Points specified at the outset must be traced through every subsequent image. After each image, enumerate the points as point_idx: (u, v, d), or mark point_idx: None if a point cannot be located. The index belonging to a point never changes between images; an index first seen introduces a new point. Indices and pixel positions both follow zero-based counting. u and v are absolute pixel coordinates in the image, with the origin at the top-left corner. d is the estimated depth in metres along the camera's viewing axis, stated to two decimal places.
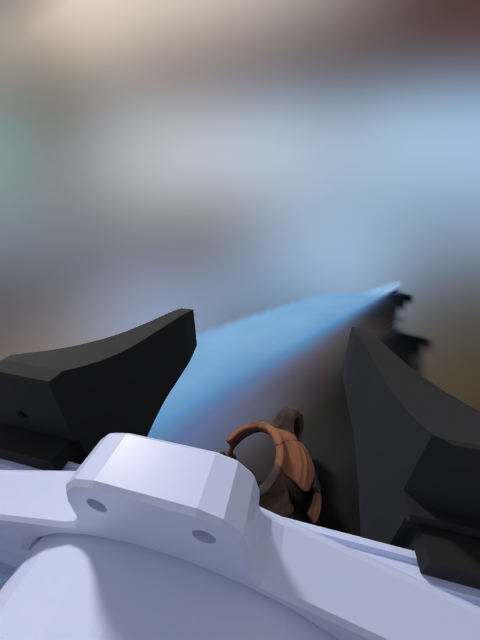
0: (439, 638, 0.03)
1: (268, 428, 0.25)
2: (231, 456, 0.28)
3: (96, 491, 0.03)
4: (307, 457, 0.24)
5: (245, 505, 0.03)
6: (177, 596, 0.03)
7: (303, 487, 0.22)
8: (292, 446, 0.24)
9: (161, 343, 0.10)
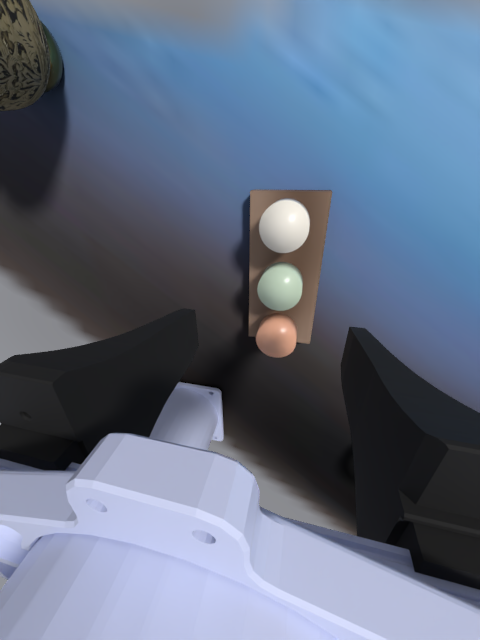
0: (439, 638, 0.03)
1: None
2: None
3: (96, 490, 0.03)
4: None
5: (245, 505, 0.03)
6: (177, 596, 0.03)
7: None
8: None
9: (163, 343, 0.10)
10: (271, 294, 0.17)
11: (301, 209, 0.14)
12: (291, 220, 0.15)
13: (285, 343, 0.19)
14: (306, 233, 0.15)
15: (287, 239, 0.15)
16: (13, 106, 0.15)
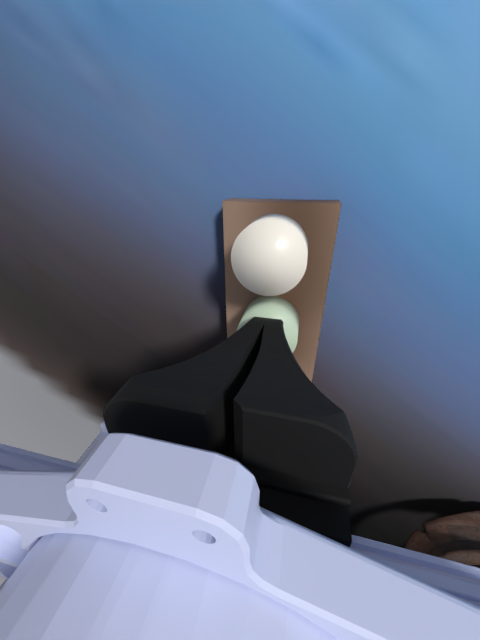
0: (439, 638, 0.03)
1: None
2: None
3: (96, 491, 0.03)
4: None
5: (245, 505, 0.03)
6: (177, 596, 0.03)
7: None
8: None
9: (251, 356, 0.09)
10: None
11: (294, 233, 0.09)
12: (279, 249, 0.09)
13: None
14: (302, 269, 0.10)
15: (274, 277, 0.10)
16: None
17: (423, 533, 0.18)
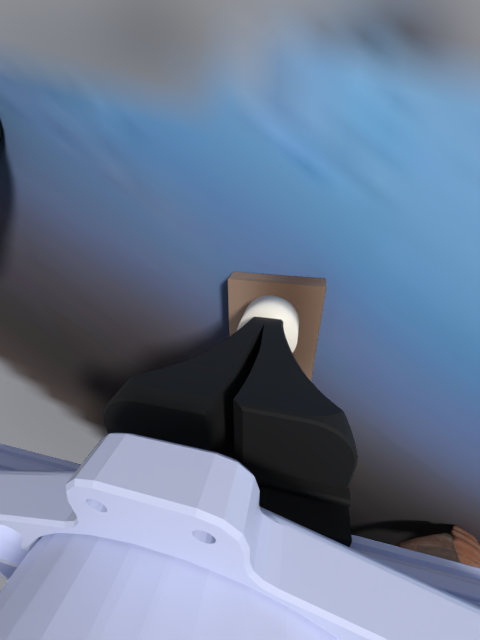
0: (439, 638, 0.03)
1: None
2: None
3: (96, 491, 0.03)
4: None
5: (245, 505, 0.03)
6: (177, 596, 0.03)
7: None
8: None
9: (251, 356, 0.09)
10: None
11: (287, 320, 0.12)
12: None
13: None
14: (294, 345, 0.12)
15: None
16: None
17: None
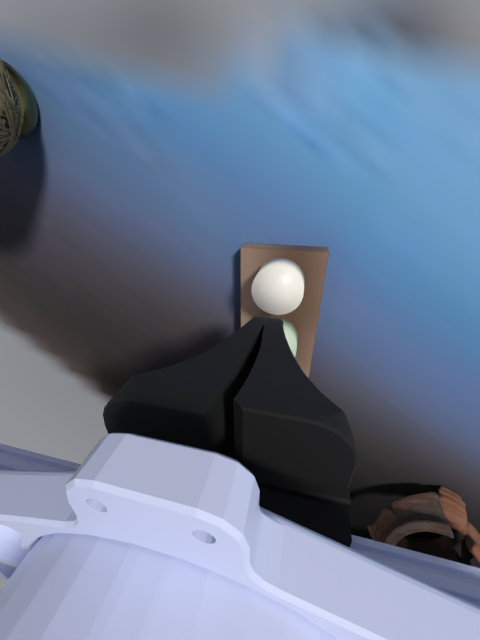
0: (439, 638, 0.03)
1: None
2: None
3: (96, 491, 0.03)
4: None
5: (245, 505, 0.03)
6: (177, 596, 0.03)
7: None
8: None
9: (251, 356, 0.09)
10: None
11: (295, 275, 0.14)
12: (284, 285, 0.14)
13: None
14: (300, 298, 0.14)
15: (280, 302, 0.15)
16: None
17: (389, 510, 0.23)
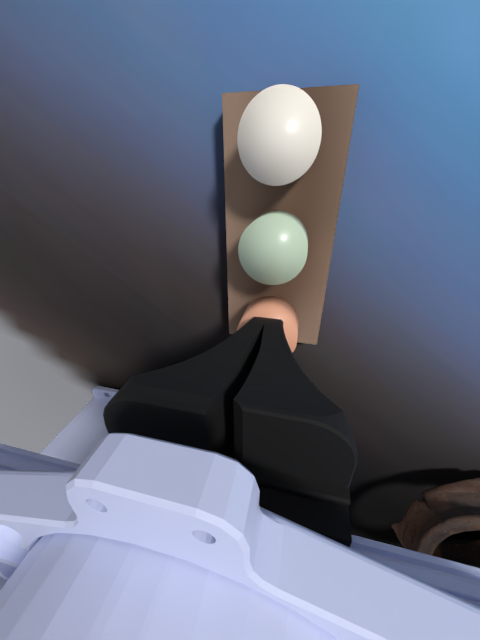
0: (439, 638, 0.03)
1: None
2: None
3: (96, 490, 0.03)
4: None
5: (245, 505, 0.03)
6: (177, 596, 0.03)
7: None
8: None
9: (251, 356, 0.09)
10: (259, 258, 0.11)
11: (308, 99, 0.08)
12: (290, 122, 0.09)
13: None
14: (316, 146, 0.09)
15: (284, 160, 0.09)
16: None
17: (422, 502, 0.17)
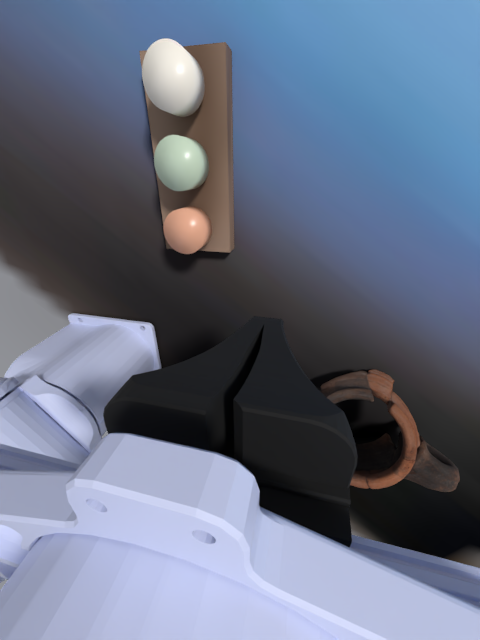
0: (439, 638, 0.03)
1: (396, 475, 0.18)
2: None
3: (96, 491, 0.03)
4: None
5: (245, 505, 0.03)
6: (177, 596, 0.03)
7: None
8: None
9: (251, 356, 0.09)
10: (169, 169, 0.16)
11: (181, 48, 0.13)
12: (173, 64, 0.13)
13: (193, 234, 0.17)
14: (191, 81, 0.13)
15: (173, 92, 0.14)
16: None
17: None
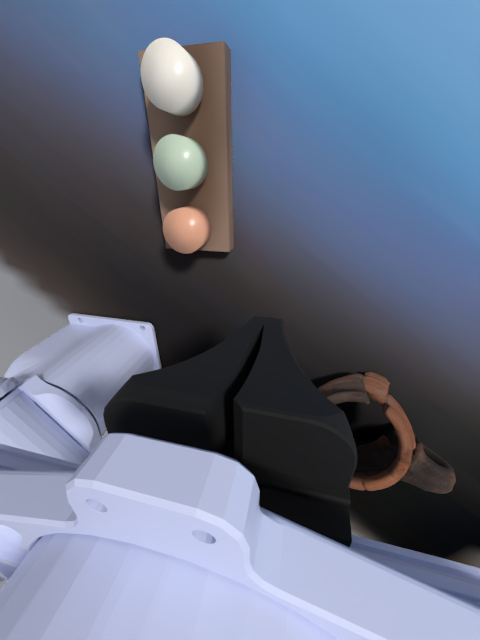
0: (439, 638, 0.03)
1: (392, 477, 0.19)
2: None
3: (96, 490, 0.03)
4: None
5: (245, 505, 0.03)
6: (177, 596, 0.03)
7: None
8: None
9: (251, 356, 0.09)
10: (168, 169, 0.16)
11: (179, 47, 0.13)
12: (172, 64, 0.13)
13: (192, 234, 0.17)
14: (190, 80, 0.13)
15: (172, 91, 0.14)
16: None
17: None
